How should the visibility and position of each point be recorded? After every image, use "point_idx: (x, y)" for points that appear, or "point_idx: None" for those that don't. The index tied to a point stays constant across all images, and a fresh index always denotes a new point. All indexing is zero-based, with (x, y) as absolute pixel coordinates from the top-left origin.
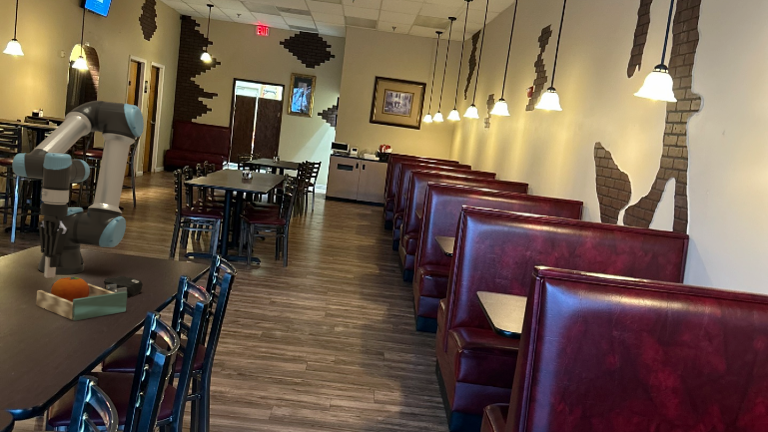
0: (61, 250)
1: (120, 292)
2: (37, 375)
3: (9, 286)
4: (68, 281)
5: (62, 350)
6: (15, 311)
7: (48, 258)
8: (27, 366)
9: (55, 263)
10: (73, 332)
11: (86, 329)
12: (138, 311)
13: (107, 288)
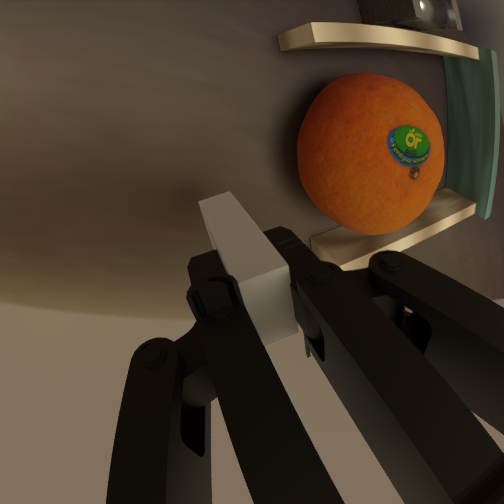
0: (443, 289)
1: (494, 69)
2: (500, 279)
3: (30, 299)
4: (430, 195)
5: (493, 249)
6: None
7: (294, 322)
8: (489, 286)
9: (300, 246)
10: (477, 218)
11: None
12: None
13: (412, 19)
